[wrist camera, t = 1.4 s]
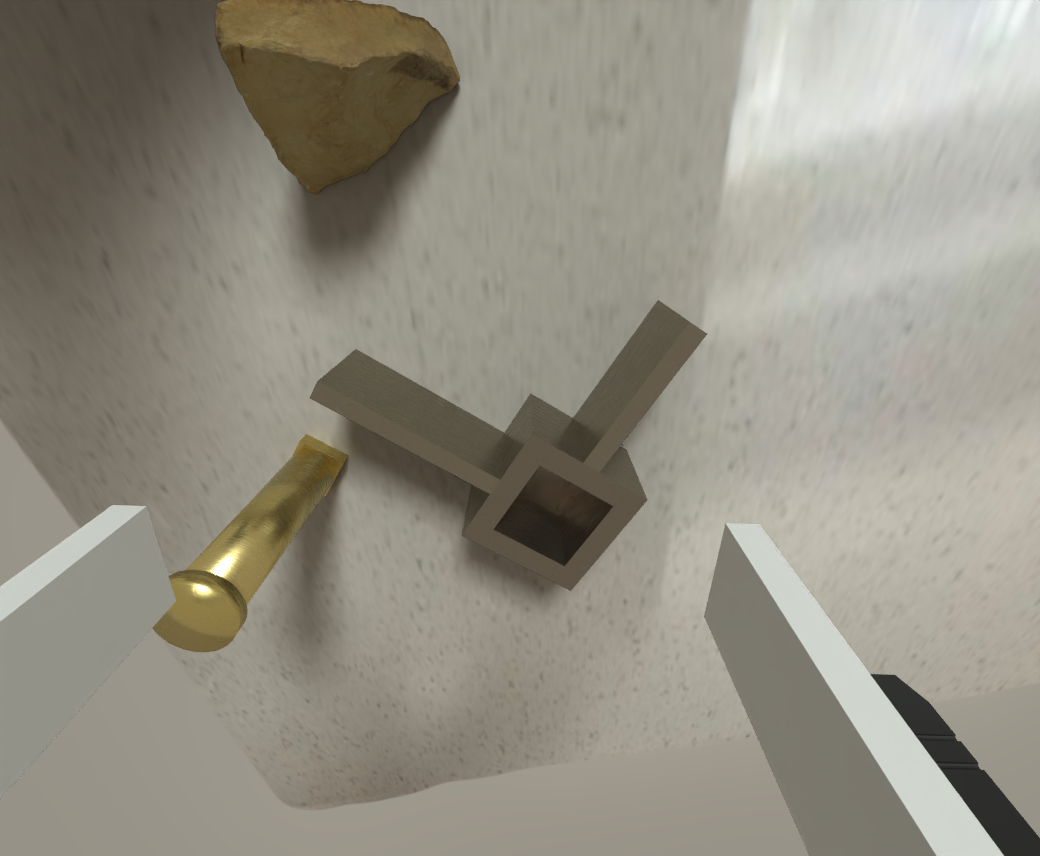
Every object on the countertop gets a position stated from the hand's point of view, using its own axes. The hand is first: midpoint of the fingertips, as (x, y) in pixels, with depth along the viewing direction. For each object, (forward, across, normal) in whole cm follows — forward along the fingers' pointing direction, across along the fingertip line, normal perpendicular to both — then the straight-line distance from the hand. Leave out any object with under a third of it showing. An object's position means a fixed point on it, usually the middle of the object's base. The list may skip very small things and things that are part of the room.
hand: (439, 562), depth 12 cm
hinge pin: (+24, -13, -11) cm, 30 cm away
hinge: (+25, +1, -3) cm, 25 cm away
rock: (+25, -7, +12) cm, 29 cm away
